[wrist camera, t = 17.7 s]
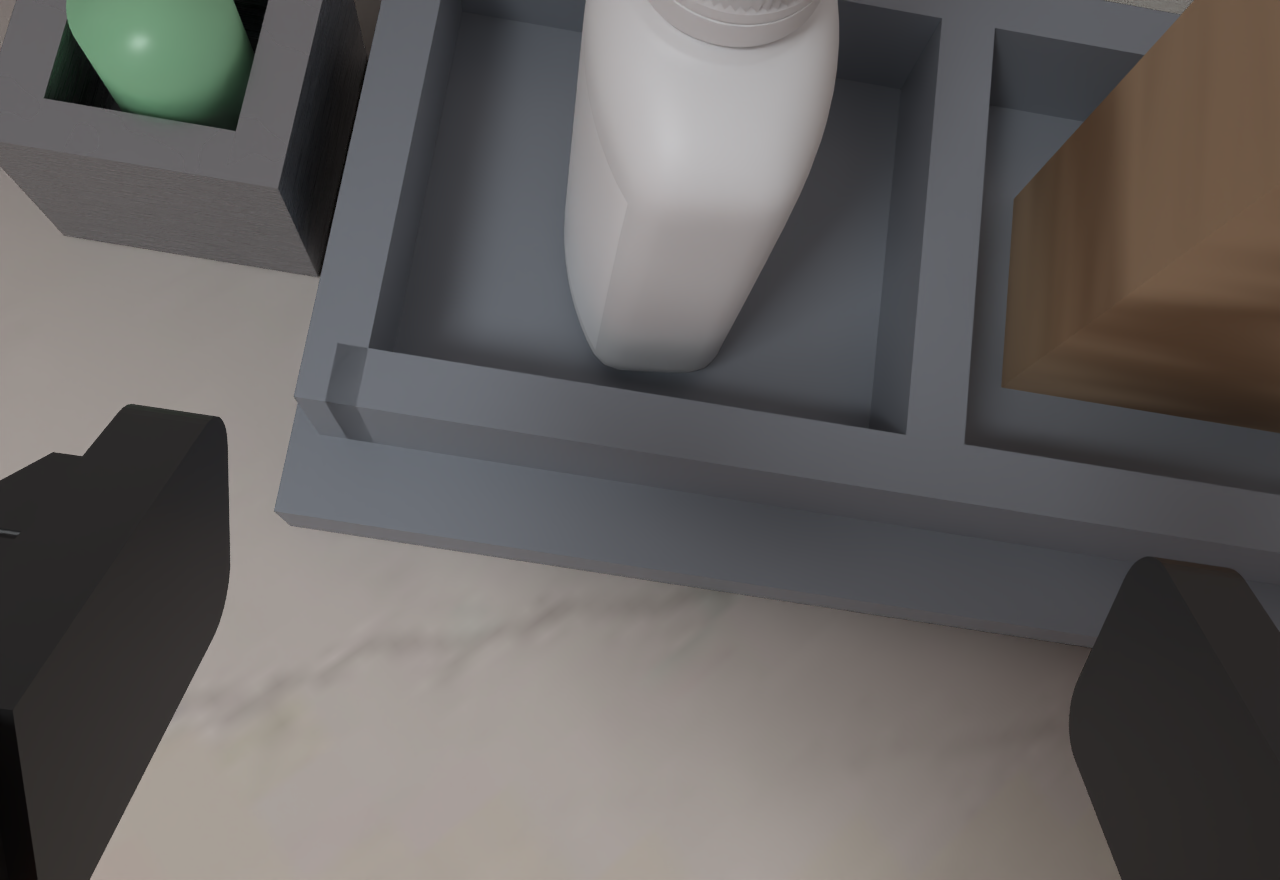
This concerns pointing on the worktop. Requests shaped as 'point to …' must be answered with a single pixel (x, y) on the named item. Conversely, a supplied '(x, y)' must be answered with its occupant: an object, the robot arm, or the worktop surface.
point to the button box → (188, 140)
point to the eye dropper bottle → (688, 165)
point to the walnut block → (1162, 234)
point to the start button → (168, 56)
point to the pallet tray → (751, 343)
